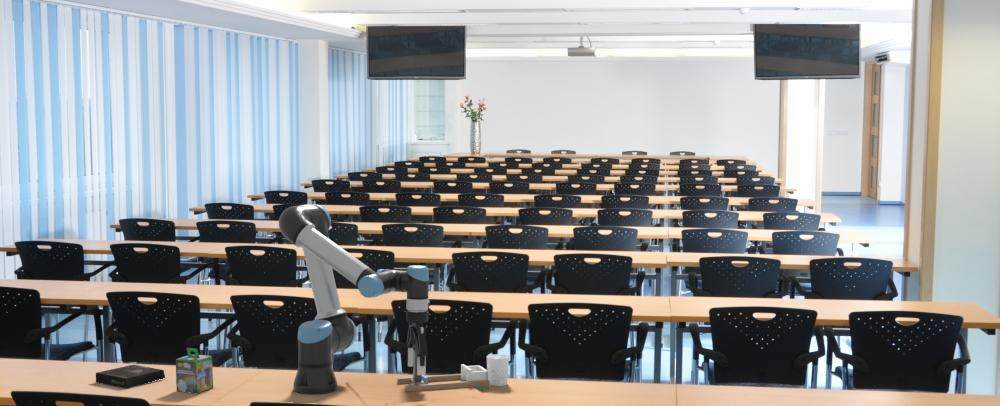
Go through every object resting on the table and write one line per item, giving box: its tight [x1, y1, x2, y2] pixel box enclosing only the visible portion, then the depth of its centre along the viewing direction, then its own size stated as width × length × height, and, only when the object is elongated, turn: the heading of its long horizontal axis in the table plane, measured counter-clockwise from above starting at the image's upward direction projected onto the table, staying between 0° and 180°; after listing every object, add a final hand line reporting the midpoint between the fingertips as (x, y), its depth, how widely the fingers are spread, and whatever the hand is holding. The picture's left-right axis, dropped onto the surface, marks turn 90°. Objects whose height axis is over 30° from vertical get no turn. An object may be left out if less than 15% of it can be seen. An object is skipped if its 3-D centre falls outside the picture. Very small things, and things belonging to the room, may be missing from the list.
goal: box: [460, 363, 488, 382], centre depth 393 cm, size 7×10×6 cm
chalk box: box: [175, 347, 214, 394], centre depth 385 cm, size 9×9×15 cm
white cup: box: [486, 353, 510, 387], centre depth 395 cm, size 8×8×10 cm
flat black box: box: [95, 364, 166, 389], centre depth 398 cm, size 16×17×4 cm
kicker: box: [408, 343, 429, 386], centre depth 386 cm, size 5×7×15 cm
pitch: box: [396, 373, 491, 393], centre depth 389 cm, size 30×13×3 cm, turn 109°
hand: (416, 370), depth 386 cm, fingers open, 13 cm apart
